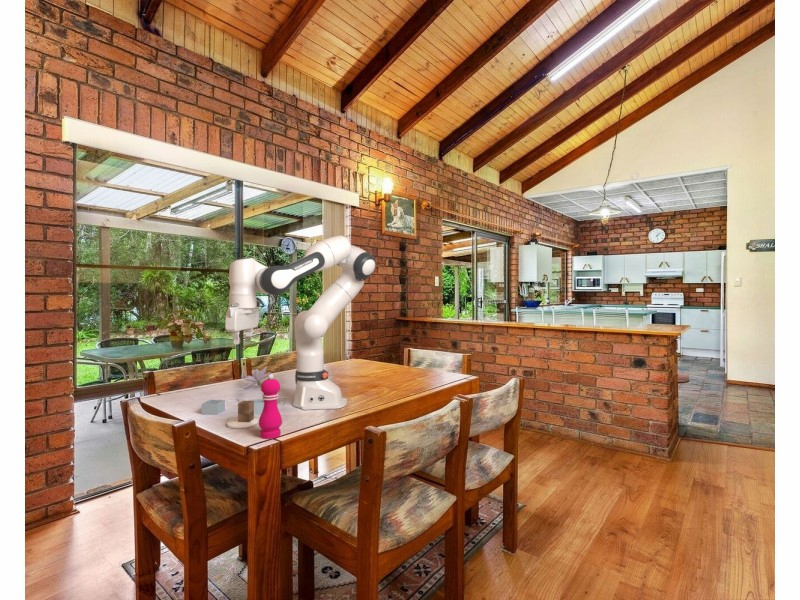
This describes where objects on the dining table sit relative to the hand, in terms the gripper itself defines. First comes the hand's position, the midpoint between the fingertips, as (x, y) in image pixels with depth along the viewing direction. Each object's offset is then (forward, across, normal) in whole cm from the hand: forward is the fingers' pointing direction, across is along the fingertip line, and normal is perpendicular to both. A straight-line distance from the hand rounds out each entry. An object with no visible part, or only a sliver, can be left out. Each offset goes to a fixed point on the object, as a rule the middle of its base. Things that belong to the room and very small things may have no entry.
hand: (242, 342), depth 144 cm
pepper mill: (+29, -12, -14) cm, 34 cm away
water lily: (+29, +56, +17) cm, 65 cm away
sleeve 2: (+29, +16, +1) cm, 33 cm away
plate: (+29, 0, 0) cm, 29 cm away
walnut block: (+28, 0, -1) cm, 28 cm away
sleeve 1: (+29, +14, +18) cm, 36 cm away
